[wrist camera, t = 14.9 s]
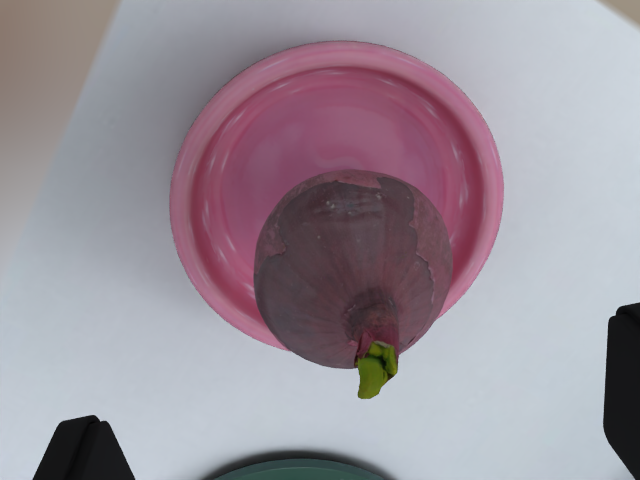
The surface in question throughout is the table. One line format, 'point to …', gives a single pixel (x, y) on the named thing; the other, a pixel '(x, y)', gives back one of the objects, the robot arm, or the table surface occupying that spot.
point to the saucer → (327, 160)
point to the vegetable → (352, 271)
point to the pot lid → (300, 471)
